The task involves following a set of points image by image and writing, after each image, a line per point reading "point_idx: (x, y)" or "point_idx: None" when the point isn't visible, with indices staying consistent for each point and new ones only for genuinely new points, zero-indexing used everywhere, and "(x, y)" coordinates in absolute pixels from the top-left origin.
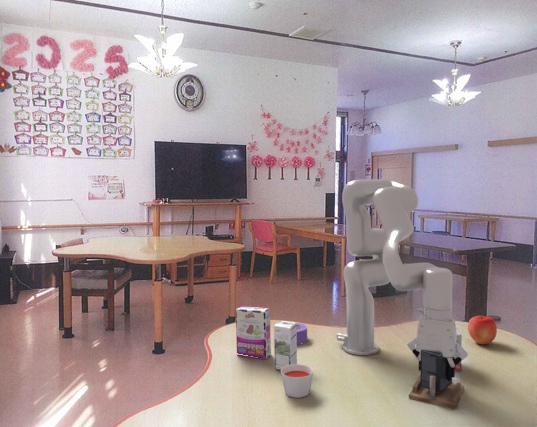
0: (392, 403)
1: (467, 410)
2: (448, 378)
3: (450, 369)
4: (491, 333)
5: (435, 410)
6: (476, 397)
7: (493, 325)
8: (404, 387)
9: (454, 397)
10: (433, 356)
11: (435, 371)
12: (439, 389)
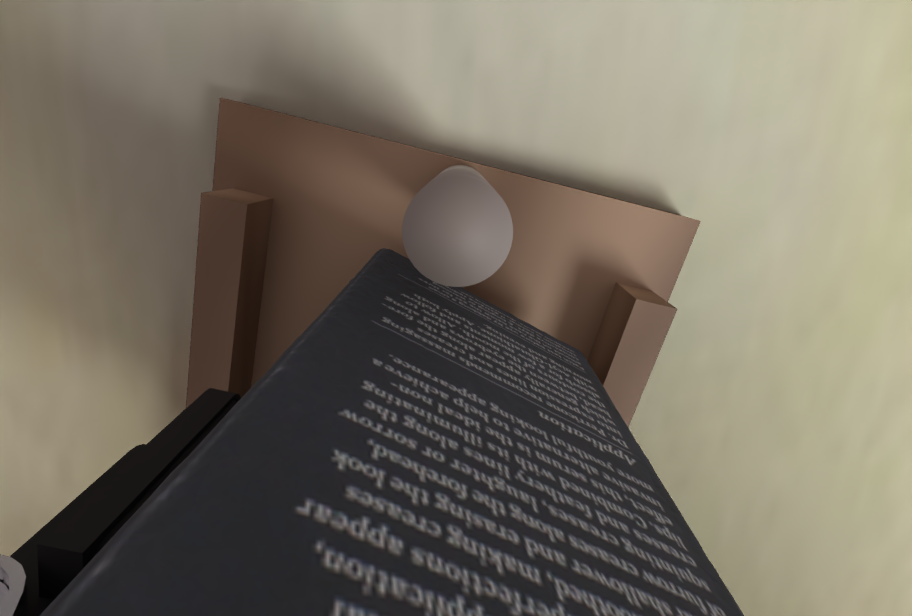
0: (877, 44)
1: (135, 114)
2: (225, 411)
3: (84, 508)
4: None
5: (436, 12)
6: (93, 395)
7: None
8: (691, 423)
9: (219, 194)
10: None
11: (390, 369)
12: (374, 258)
